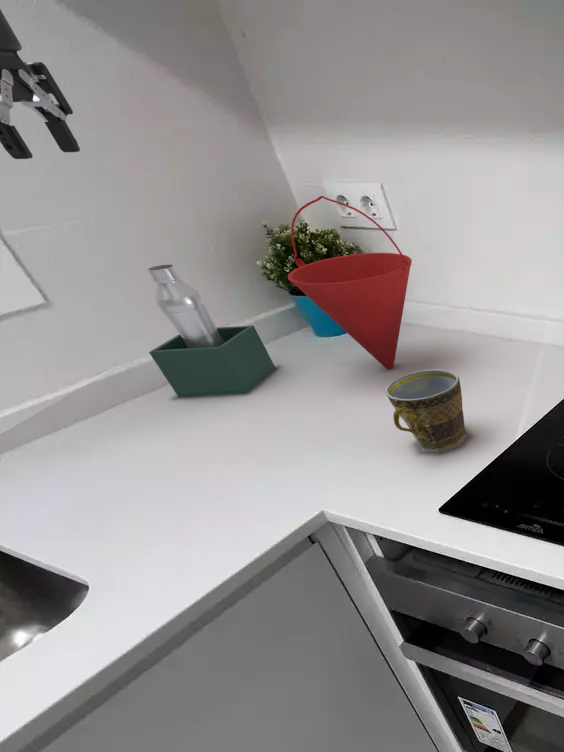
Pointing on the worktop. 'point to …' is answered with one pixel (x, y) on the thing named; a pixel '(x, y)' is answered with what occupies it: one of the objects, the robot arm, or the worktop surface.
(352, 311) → the fire bucket
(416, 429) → the ceramic cup
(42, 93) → the robot arm
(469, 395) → the worktop surface
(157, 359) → the bin
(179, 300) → the plastic bottle
